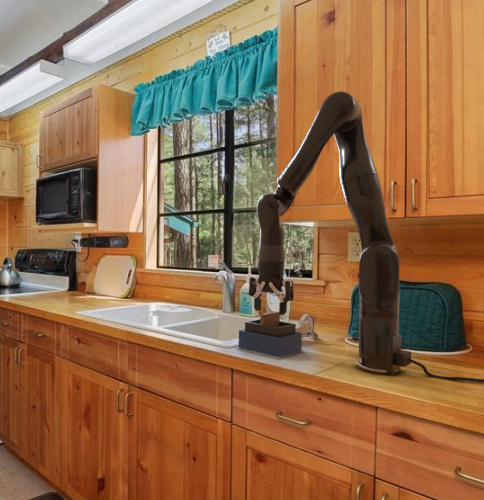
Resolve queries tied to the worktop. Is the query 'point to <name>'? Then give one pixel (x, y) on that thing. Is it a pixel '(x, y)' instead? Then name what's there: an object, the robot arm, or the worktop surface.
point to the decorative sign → (306, 326)
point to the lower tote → (270, 343)
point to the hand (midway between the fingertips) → (269, 312)
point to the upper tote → (270, 325)
